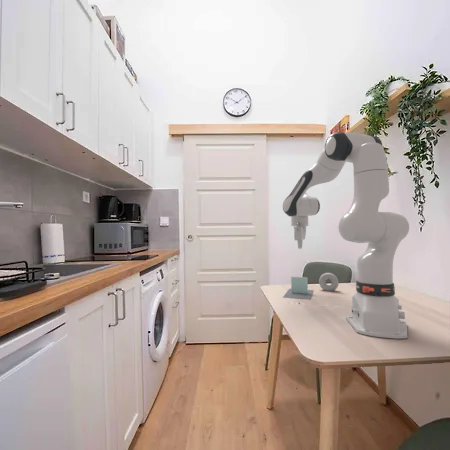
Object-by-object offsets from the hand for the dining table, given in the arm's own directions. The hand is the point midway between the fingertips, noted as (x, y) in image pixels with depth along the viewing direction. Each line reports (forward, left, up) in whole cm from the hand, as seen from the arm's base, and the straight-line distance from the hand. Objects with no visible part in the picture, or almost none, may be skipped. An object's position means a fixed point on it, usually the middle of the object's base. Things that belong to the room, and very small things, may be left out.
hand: (300, 248), depth 150 cm
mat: (-8, 0, -23) cm, 24 cm away
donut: (+5, -14, -23) cm, 28 cm away
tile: (-6, 0, -22) cm, 23 cm away
